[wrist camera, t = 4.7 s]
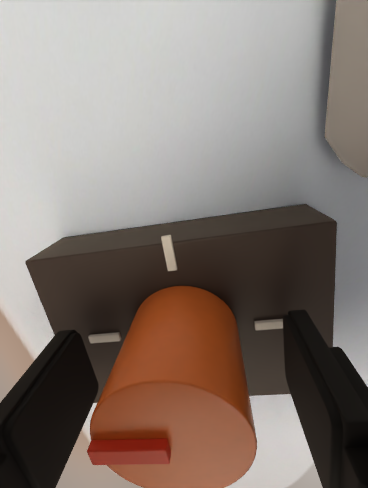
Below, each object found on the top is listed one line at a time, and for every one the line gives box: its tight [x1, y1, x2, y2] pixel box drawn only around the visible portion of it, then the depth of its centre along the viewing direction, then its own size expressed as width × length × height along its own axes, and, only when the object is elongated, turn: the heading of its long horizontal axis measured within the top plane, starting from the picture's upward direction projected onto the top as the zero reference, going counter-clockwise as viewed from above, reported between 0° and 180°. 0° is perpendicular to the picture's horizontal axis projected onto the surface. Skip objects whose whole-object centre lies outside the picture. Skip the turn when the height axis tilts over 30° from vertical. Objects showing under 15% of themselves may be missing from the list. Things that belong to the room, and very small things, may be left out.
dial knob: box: [87, 286, 257, 488], centre depth 9 cm, size 4×4×5 cm
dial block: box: [26, 204, 337, 403], centre depth 12 cm, size 12×9×3 cm
